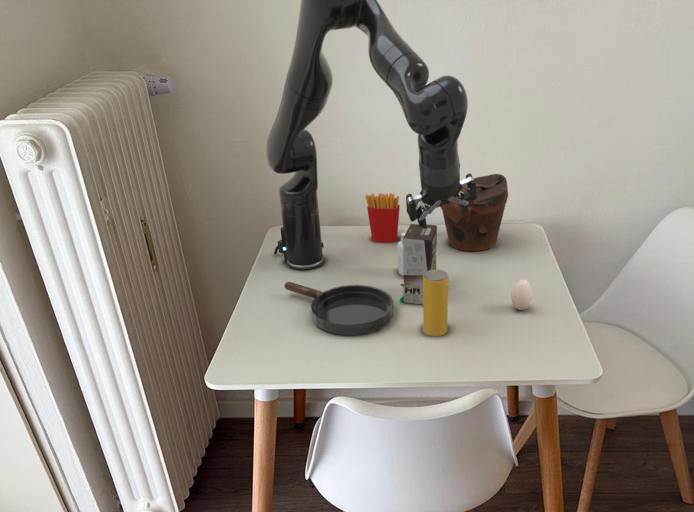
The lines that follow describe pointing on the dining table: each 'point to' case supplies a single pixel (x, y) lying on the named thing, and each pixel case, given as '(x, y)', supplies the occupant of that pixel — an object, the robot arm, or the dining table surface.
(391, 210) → the french fries
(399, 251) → the eye dropper bottle
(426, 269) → the coffee box
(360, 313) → the pan
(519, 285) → the egg
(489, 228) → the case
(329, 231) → the dining table surface
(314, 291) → the pan handle
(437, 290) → the can
